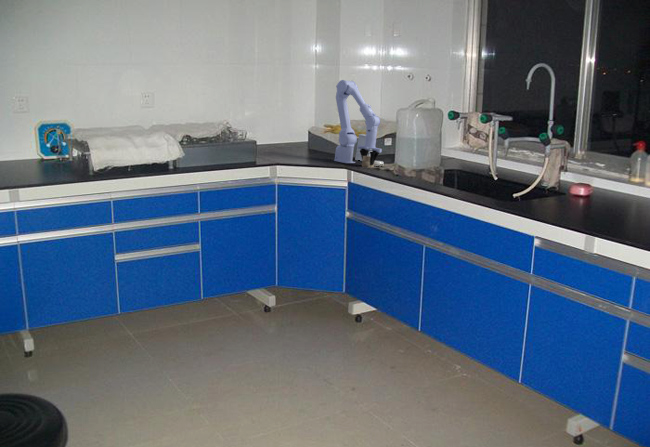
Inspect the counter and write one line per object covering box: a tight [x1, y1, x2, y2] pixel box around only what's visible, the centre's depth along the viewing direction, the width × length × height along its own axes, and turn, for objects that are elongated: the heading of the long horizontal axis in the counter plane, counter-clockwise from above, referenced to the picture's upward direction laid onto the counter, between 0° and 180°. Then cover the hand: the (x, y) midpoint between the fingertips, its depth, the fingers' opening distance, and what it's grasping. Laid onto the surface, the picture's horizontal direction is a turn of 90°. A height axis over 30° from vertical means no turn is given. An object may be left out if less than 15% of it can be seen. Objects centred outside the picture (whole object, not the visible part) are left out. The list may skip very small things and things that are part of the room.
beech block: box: [361, 156, 375, 169], centre depth 365 cm, size 4×4×6 cm
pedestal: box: [374, 159, 384, 167], centre depth 372 cm, size 7×7×2 cm
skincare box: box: [355, 133, 372, 162], centre depth 387 cm, size 8×6×15 cm
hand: (367, 164), depth 365 cm, fingers closed on beech block, 4 cm apart
